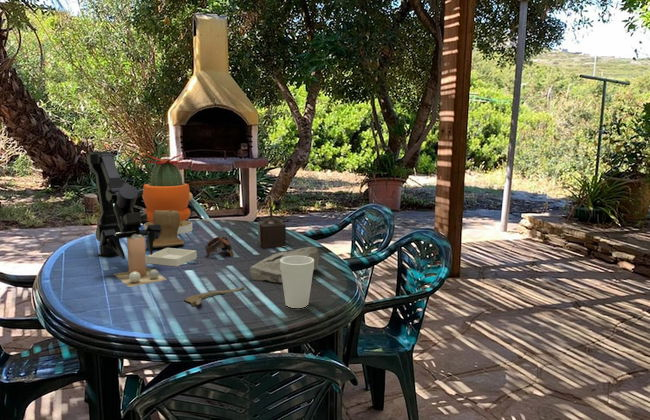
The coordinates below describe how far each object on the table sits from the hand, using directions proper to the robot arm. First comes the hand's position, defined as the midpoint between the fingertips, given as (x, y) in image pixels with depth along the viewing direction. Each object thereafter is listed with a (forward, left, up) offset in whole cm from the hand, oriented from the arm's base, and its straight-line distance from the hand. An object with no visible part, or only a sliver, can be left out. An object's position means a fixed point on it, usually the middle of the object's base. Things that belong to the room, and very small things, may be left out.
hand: (138, 256), depth 161 cm
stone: (+44, +19, -8) cm, 48 cm away
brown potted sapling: (+22, +57, -7) cm, 61 cm away
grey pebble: (+6, -1, -7) cm, 9 cm away
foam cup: (+57, -6, -7) cm, 58 cm away
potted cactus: (-31, +61, -7) cm, 69 cm away
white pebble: (+3, -5, -7) cm, 9 cm away
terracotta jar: (-1, +1, -7) cm, 7 cm away
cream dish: (-1, +20, -7) cm, 21 cm away
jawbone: (+34, -8, -8) cm, 36 cm away
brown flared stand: (-17, +38, -7) cm, 42 cm away
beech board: (+1, 0, -7) cm, 7 cm away
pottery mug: (+11, +34, -7) cm, 36 cm away
